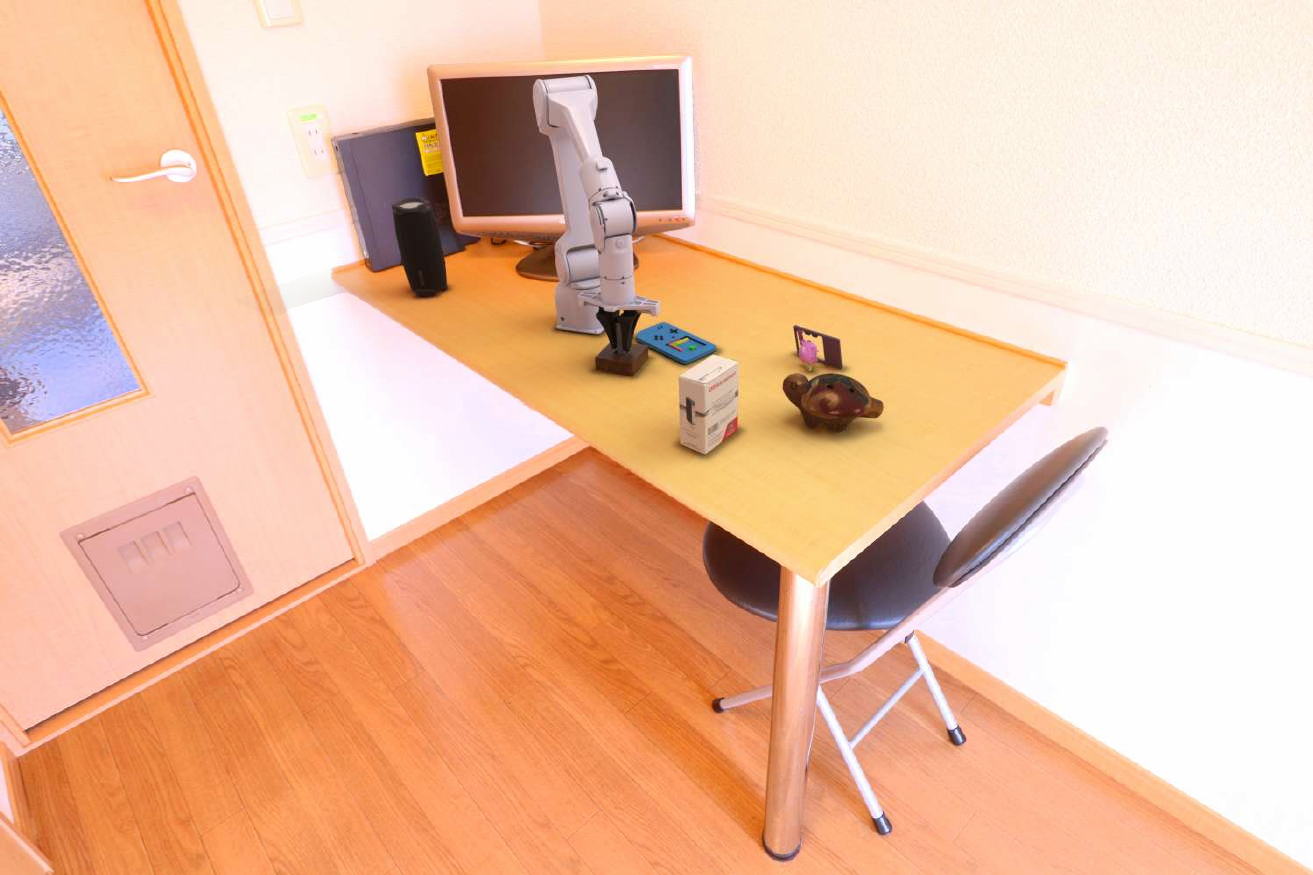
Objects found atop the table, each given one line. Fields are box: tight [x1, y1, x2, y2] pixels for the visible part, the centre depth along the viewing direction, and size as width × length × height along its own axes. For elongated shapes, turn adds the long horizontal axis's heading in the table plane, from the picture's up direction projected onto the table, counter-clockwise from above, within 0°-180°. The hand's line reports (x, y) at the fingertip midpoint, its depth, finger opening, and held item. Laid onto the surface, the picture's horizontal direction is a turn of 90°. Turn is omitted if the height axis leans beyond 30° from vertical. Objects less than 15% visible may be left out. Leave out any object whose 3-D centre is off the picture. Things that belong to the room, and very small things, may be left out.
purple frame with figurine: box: [792, 324, 844, 372], centre depth 123 cm, size 7×5×9 cm
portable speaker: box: [391, 196, 448, 298], centre depth 154 cm, size 9×9×20 cm
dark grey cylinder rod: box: [615, 315, 627, 355], centre depth 125 cm, size 2×2×9 cm
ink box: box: [678, 354, 740, 455], centre depth 104 cm, size 8×5×12 cm, turn 140°
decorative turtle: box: [782, 372, 885, 433], centre depth 108 cm, size 10×15×8 cm, turn 84°
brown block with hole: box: [594, 342, 649, 377], centre depth 127 cm, size 7×7×3 cm
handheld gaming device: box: [635, 321, 717, 365], centre depth 133 cm, size 8×1×15 cm
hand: (621, 347), depth 126 cm, fingers closed on dark grey cylinder rod, 2 cm apart
